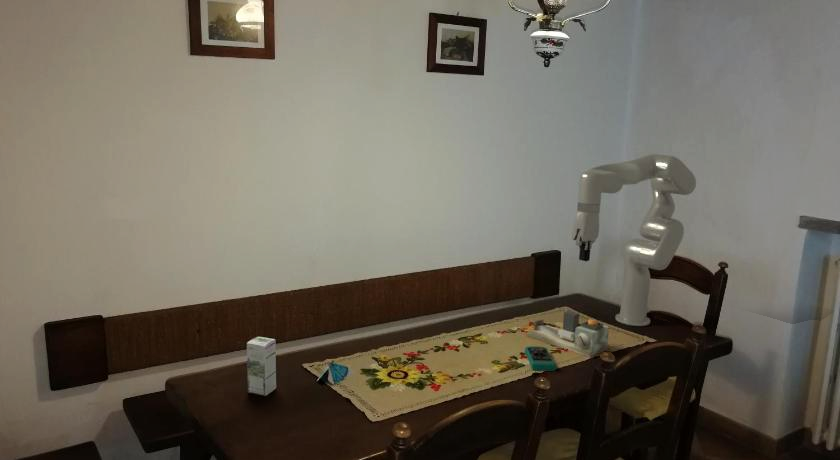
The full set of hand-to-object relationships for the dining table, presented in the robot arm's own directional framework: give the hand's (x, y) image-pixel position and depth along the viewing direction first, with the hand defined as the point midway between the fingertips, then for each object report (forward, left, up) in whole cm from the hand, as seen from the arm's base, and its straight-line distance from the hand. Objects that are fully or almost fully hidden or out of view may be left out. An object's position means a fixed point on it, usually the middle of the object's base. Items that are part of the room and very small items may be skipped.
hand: (584, 260), depth 227 cm
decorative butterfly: (+89, -25, -28) cm, 97 cm away
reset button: (+10, +11, -19) cm, 24 cm away
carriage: (+10, +3, -25) cm, 27 cm away
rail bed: (+10, +2, -27) cm, 29 cm away
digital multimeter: (+32, +6, -28) cm, 43 cm away
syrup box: (+109, -30, -27) cm, 116 cm away
